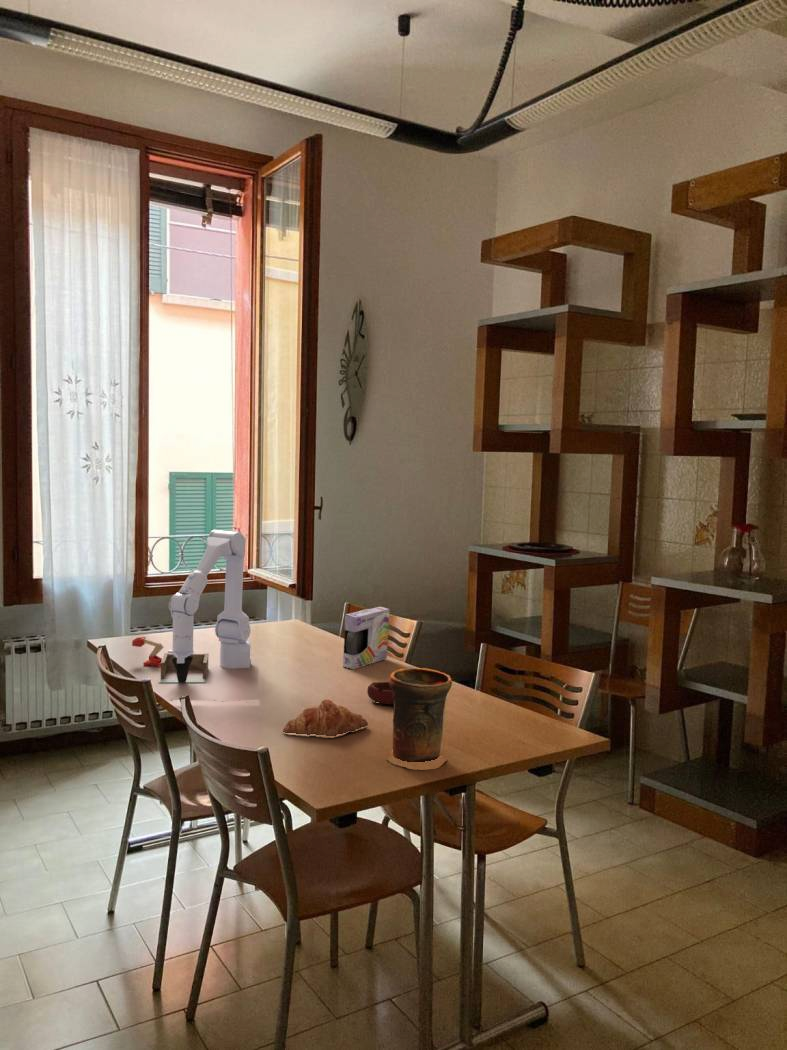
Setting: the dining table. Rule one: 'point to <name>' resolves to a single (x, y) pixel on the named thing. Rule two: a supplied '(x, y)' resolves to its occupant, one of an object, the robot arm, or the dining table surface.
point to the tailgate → (182, 682)
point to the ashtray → (381, 692)
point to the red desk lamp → (153, 658)
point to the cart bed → (197, 664)
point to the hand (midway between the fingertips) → (182, 681)
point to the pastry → (325, 720)
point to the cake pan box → (365, 637)
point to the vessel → (418, 713)
